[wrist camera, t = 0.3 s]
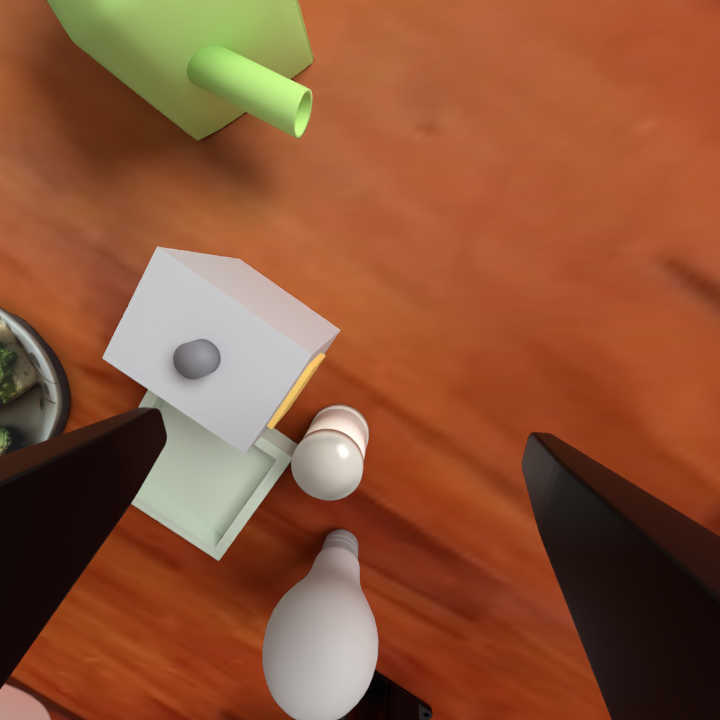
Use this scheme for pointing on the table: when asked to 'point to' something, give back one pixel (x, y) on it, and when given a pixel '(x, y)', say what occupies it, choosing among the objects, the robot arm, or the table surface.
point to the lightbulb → (322, 637)
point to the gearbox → (201, 57)
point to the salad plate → (29, 387)
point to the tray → (208, 479)
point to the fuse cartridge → (332, 453)
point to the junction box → (219, 343)
